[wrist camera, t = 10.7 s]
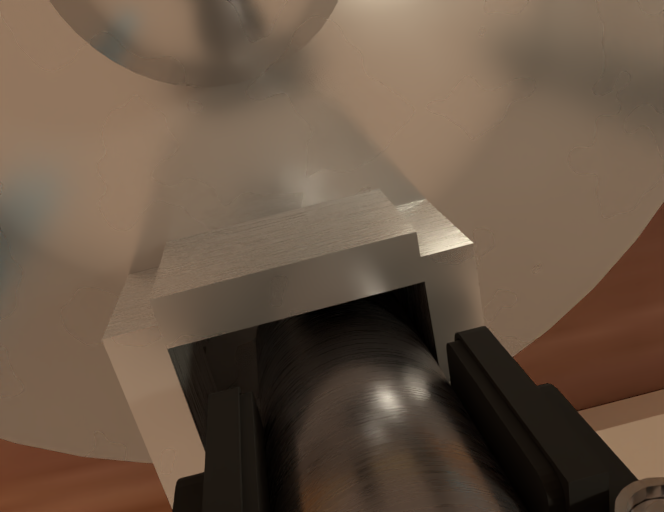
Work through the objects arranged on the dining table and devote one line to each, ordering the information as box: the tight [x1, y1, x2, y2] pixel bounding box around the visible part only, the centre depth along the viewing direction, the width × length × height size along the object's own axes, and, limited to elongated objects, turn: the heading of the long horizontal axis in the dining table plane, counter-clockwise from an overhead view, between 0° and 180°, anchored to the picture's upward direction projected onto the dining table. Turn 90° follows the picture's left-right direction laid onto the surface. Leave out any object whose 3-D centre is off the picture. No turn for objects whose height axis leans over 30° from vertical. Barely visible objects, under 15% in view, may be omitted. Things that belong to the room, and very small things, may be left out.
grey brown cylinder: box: [255, 290, 528, 512], centre depth 10 cm, size 4×4×10 cm
